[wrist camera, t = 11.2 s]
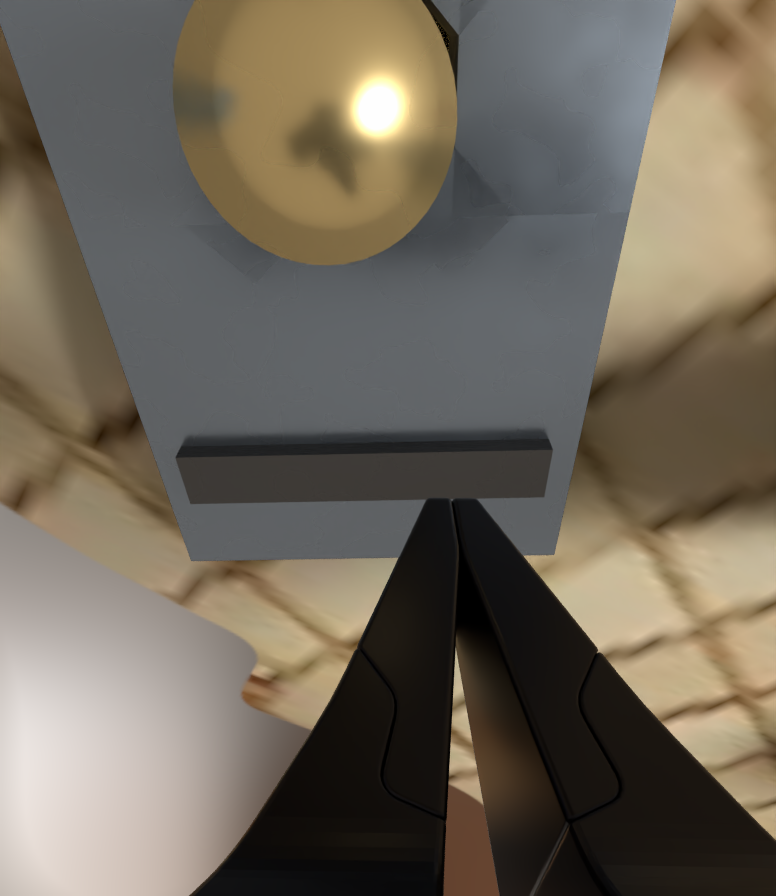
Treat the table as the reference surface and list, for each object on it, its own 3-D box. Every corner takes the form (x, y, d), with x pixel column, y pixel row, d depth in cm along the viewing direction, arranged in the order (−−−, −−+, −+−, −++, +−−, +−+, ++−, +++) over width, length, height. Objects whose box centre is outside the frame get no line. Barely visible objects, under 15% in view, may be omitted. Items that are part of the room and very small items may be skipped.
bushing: (428, -18, 13) (465, -72, 7) (425, 169, 15) (451, 262, 9) (260, -12, 13) (135, -60, 7) (283, 173, 15) (208, 268, 9)
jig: (704, -383, 10) (808, -523, 7) (540, 510, 23) (558, 566, 21) (-56, -345, 10) (-199, -468, 8) (208, 516, 23) (186, 572, 21)
